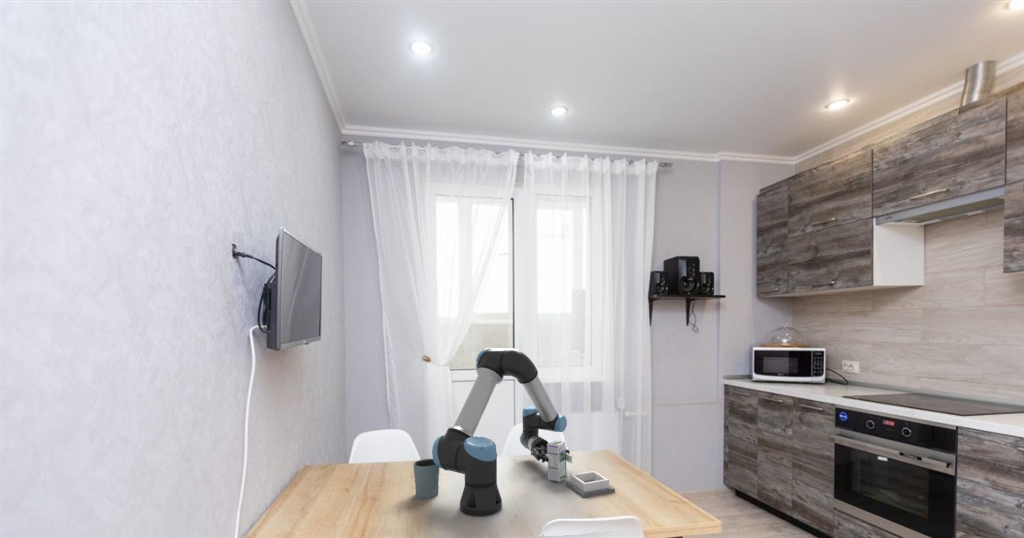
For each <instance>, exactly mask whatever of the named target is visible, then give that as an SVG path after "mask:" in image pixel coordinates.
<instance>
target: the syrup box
mask: <svg viewBox="0 0 1024 538" xmlns="http://www.w3.org/2000/svg"><path fill="white" fill-rule="evenodd" d="M566 446H567V445H566V442H564V441H560V440H553V441H550V442H548V444H547V455H549V456H551V457H552V458H554V465H553V466H552V465H550V464H549V463H548V462H547V478H548V480H549V481H550V480H551V481H553V482H559V483H560V482H562V481H564V480H566V479H567V478H568V475H567V472H568V471H567V461H566V449H567V448H566Z"/></svg>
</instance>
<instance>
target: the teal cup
mask: <svg viewBox="0 0 1024 538" xmlns="http://www.w3.org/2000/svg"><path fill="white" fill-rule="evenodd" d="M413 474H414V485H415V486H414V487H415V497H416V498H417V499H420V500H428V498H430V499H433V497H434V498H436V497H438V495H439V488H440V487H439V480H440V478H439V476H440V468H439V467H438V466H436V464H435V463H434V461H433V458H425V459H420V460H416V461H415V462H413ZM435 496H436V497H435Z"/></svg>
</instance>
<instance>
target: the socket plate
mask: <svg viewBox="0 0 1024 538" xmlns="http://www.w3.org/2000/svg"><path fill="white" fill-rule="evenodd" d="M565 486H566V487H568V488H569V489H571V490H572V491H573V492H575V493H576V494H578V495H579V496H580V497H581V498H588V497H595V496H600V495H604V494H611V493H615V492H616V490H615V489H616V488H614V487H612V486H611V485H610V479H609V478H607V477H605V476H603V475H601V474H600V473H598V472H597V471H595V470H593V471H585V472H579V473H573V474H570V480H568V481H565Z"/></svg>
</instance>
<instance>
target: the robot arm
mask: <svg viewBox="0 0 1024 538" xmlns="http://www.w3.org/2000/svg"><path fill="white" fill-rule="evenodd" d="M475 362H476V363H475V368H476V374H477V377H476V379H475V381H474V383H473V385H472V387H471V390H470V392H469V394H468V396H467V397H466V399H465V402H464V404H463V406H462V408H461V410H460V412H459V414H458V416H457V419H456V421H455V423H454V425H453V426H451V427H448V428H447V431H446V432H445V434H443V435H440V436H438V437H437V438H436V439H435V440H434V442H433V445H432V451H431V454H432V455H431V456H432V459H433V461H434V463H435V464H436V466H438V467H439V469H443V470H444V471H450V472H453V473H458V474H462V475H464V487H463V490H462V494H461V497H460V500H459V510H460V512H461V513H462V514H465V515H467V516H471V517H487V516H492V515H494V514H497V513H499V512H500V511H501V510H502V508H503V500H502V497H501V493H500V489H499V487H498V476H497V475H498V473H497V472H498V468H497V467H498V466H497V465H498V464H497V463H498V452H497V445H496V443H495V441H493V440H492V439H490V438H489V437H484V436H474V435H475V433H476V430H477V428H478V426H479V423H480V421H481V419H482V418H483V415H484V412H485V410H486V408H487V406H488V404H489V402H490V399H491V397H492V394H493V392H494V390H495V388H496V386H497V385H499V384H501V383H502V381H503V379H504V378H505V377H512V378H515V379H516V380H517V382H518V383H519V384H521V385H522V386H523V388H524V390H525V392H526V393H527V395H528V397H529V398H530V400H531V403H532V404H533V405H534V406H533V405H532V406H531V405H529V406H525V407H523V408H522V433H521V434H520V436H519V442H520V444H521V445H522V447H524V448H525V449H528V450H529V451H530V455H531V456H532V457H534V458H535V460H537V461H538V462H539V461H541V462H542V463H545V462H546V463H547V464H548V463H549V464H550V465H552V466H553V465H554V458H552V457H551V456H549V455H547V444H548V443H549V442H548V441H547V440H546V439H545V438H543V437H541V436H539V430H543V431H549V432H555V433H563V432H564V431H565V430H566V428H567V426H568V420H567V417H566V416H565V415H563V414H558V411H557V410H556V408H555V406H554V404H553V402H552V400H551V399H550V396H549V394H548V393H547V391H546V389H545V387H544V385H543V383H542V381H541V380H540V378H539V371H538V368H537V366H536V365H535V364H534V362H533V361H532V359H531V358H529V356H527V354H525V353H524V352H523V351H521V350H520V349H517V348H513V347H511V348H507V347H506V348H502V347H495V346H494V347H486V348H483V349H482V350H481V351H480V352H479V353H478V354H477V357H476V360H475ZM566 462H568V463H570V464H573V456H572V455H571V454H570V450H569V449H567V448H566Z"/></svg>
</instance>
